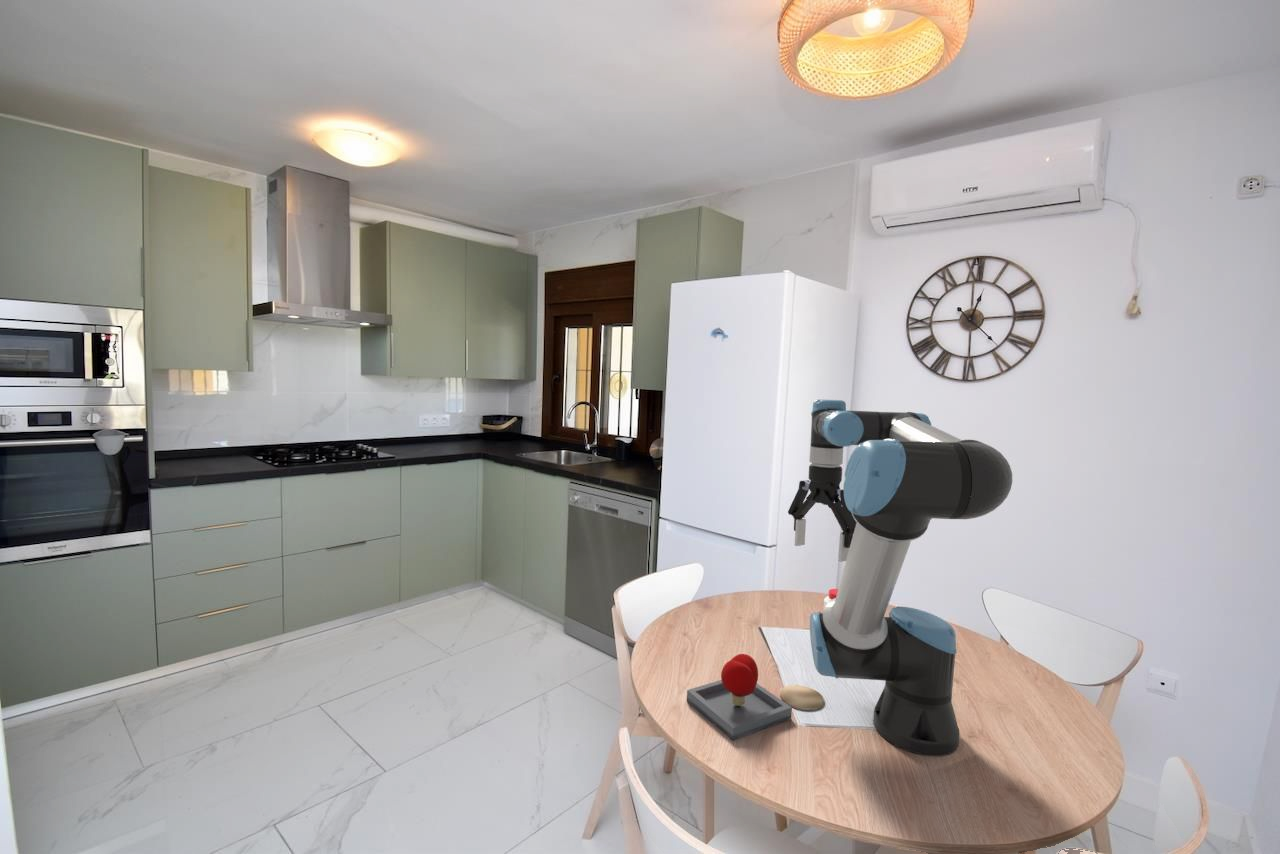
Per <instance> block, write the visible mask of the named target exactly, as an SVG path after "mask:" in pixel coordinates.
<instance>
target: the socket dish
mask: <svg viewBox="0 0 1280 854" xmlns="http://www.w3.org/2000/svg"><path fill="white" fill-rule="evenodd" d="M686 702H687V703H688V704H690V705H691V706H692V707H693V708H694V709H695V710H697V711H698V712H699V713H700V714H701V715H703V717H705V718H706V719H707V720H708V721H710V723H712V724H713V725H714V726H715V727H717V728H718V729H719V730H720V731H721V732H722V733H723V734H725V735H726V736H727V737H728V738H729V739H730V740H732V741H735V740H737V739H740V738H743V737H746V736H748V735H751V734H754V733H757V732H760V731H762V730H764V729H767V728H770V727H773V726H775V725H778V724H780V723H783V722H787V721H789V720H792V710H793V709H792V708H793V707H791V706H789V705H788V704H786V703H785V702H783V701H782V700H781V698H779V697H777V696H776V695H775V694H773V693H772V692H770V691H769V690H768V689H766V688H764V687H763V686H762V685H760V684H758V683H757V684H756V687H755V689H754V691H753V693H752V694H750V695H747V696H745V703H744V705H742V706H740V707H737V706H736V705H734V704H733V703H732V693H731V692H729V691H728V690H727V689H726V688H725V687H724V685H723V683H722V679H719V680H716V681H713V682H710V683H707V684H703V685H700V686H696V687H694V688H689V689H687V690H686Z"/></svg>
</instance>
